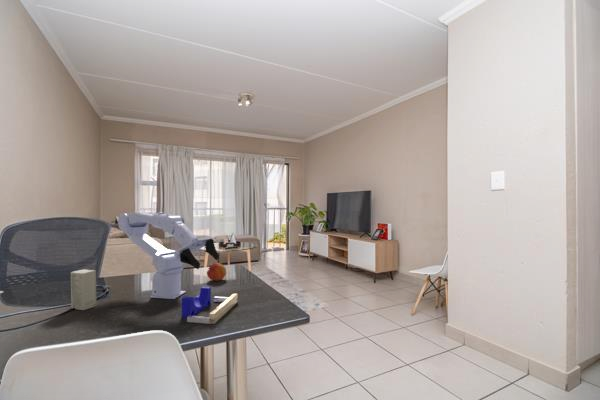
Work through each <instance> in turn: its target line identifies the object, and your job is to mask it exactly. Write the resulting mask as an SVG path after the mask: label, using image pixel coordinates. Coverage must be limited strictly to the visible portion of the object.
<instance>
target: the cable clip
mask: <svg viewBox="0 0 600 400" xmlns="http://www.w3.org/2000/svg"><path fill="white" fill-rule="evenodd" d="M211 297H212V287H211V286H201V287H200V292H199V294H198V295H196V296H195V297H194V296H183V297H181V318H187V317H188V316H189V315H190V316H196V315H197V314H198V313H200V312H201V311H202V310H204V309H205V308H207V307H209V306H210V305H211V302H212V301H211Z"/></svg>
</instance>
